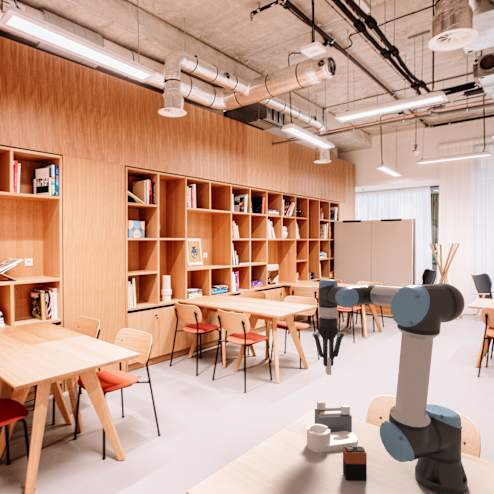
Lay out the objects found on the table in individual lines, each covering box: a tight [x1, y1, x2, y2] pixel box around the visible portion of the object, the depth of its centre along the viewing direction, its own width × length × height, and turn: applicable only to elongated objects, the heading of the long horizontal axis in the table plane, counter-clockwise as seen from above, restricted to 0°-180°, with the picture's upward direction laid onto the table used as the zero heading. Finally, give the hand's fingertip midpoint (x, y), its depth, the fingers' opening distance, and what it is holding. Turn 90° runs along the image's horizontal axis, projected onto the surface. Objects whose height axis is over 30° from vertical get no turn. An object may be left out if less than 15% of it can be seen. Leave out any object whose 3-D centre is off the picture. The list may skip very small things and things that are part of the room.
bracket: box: [306, 423, 359, 454], centre depth 147 cm, size 20×9×7 cm, turn 104°
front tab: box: [340, 404, 351, 415], centre depth 156 cm, size 2×3×3 cm, turn 95°
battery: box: [342, 445, 368, 482], centre depth 127 cm, size 4×7×10 cm, turn 88°
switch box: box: [314, 407, 353, 433], centre depth 159 cm, size 8×13×7 cm, turn 94°
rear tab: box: [316, 400, 326, 410], centre depth 161 cm, size 2×3×3 cm, turn 95°
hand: (328, 373), depth 160 cm, fingers closed
